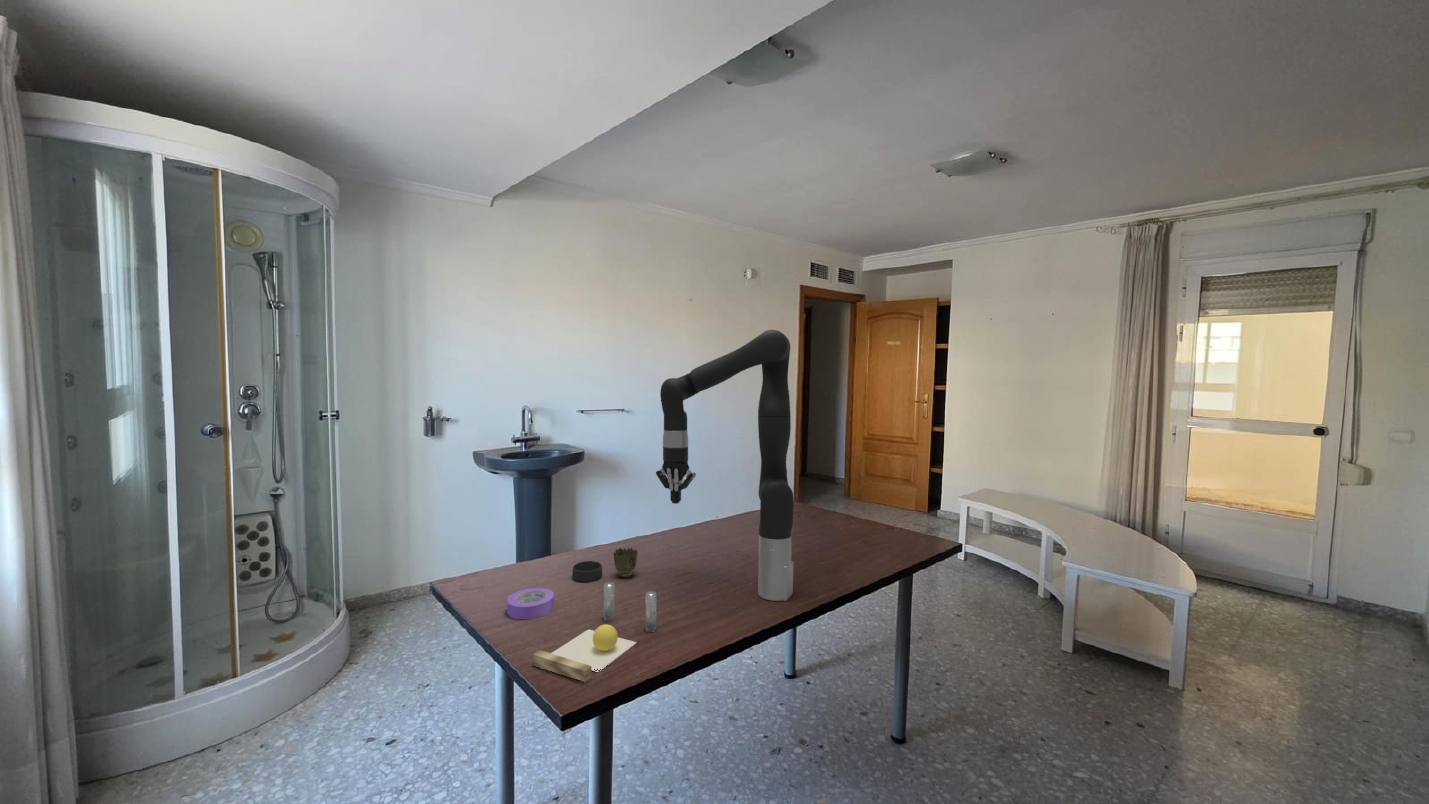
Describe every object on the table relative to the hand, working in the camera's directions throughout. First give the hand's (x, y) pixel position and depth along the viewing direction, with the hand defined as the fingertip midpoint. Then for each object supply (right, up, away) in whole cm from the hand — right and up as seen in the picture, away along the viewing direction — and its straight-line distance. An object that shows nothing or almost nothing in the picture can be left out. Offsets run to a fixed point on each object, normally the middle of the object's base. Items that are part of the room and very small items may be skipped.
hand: (675, 502), depth 154 cm
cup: (-16, -24, +7) cm, 30 cm away
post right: (-4, -25, -28) cm, 38 cm away
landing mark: (-16, -26, -38) cm, 49 cm away
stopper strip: (-20, -26, -47) cm, 57 cm away
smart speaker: (-28, -25, +6) cm, 37 cm away
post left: (-15, -25, -23) cm, 37 cm away
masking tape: (-37, -25, -18) cm, 48 cm away
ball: (-13, -23, -38) cm, 46 cm away
